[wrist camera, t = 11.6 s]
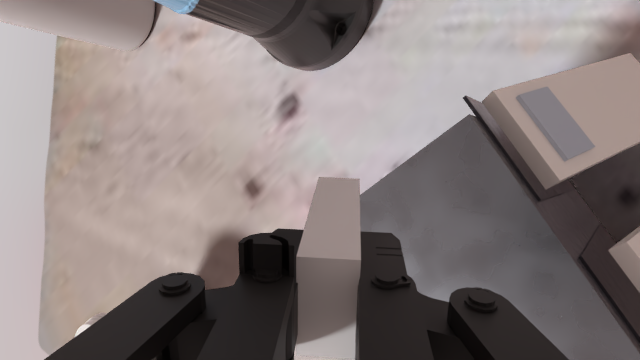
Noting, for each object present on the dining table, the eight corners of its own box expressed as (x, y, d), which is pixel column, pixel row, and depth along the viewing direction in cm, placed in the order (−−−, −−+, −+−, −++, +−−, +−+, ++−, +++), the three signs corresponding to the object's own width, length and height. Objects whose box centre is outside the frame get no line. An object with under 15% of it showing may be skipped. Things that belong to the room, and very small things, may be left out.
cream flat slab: (674, 125, 32) (545, 189, 24) (618, 62, 34) (481, 102, 26) (692, 115, 31) (564, 178, 23) (633, 50, 33) (496, 87, 25)
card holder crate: (614, 462, 37) (599, 697, 20) (436, 186, 45) (323, 195, 28) (757, 426, 32) (890, 698, 15) (528, 124, 40) (456, 91, 24)
